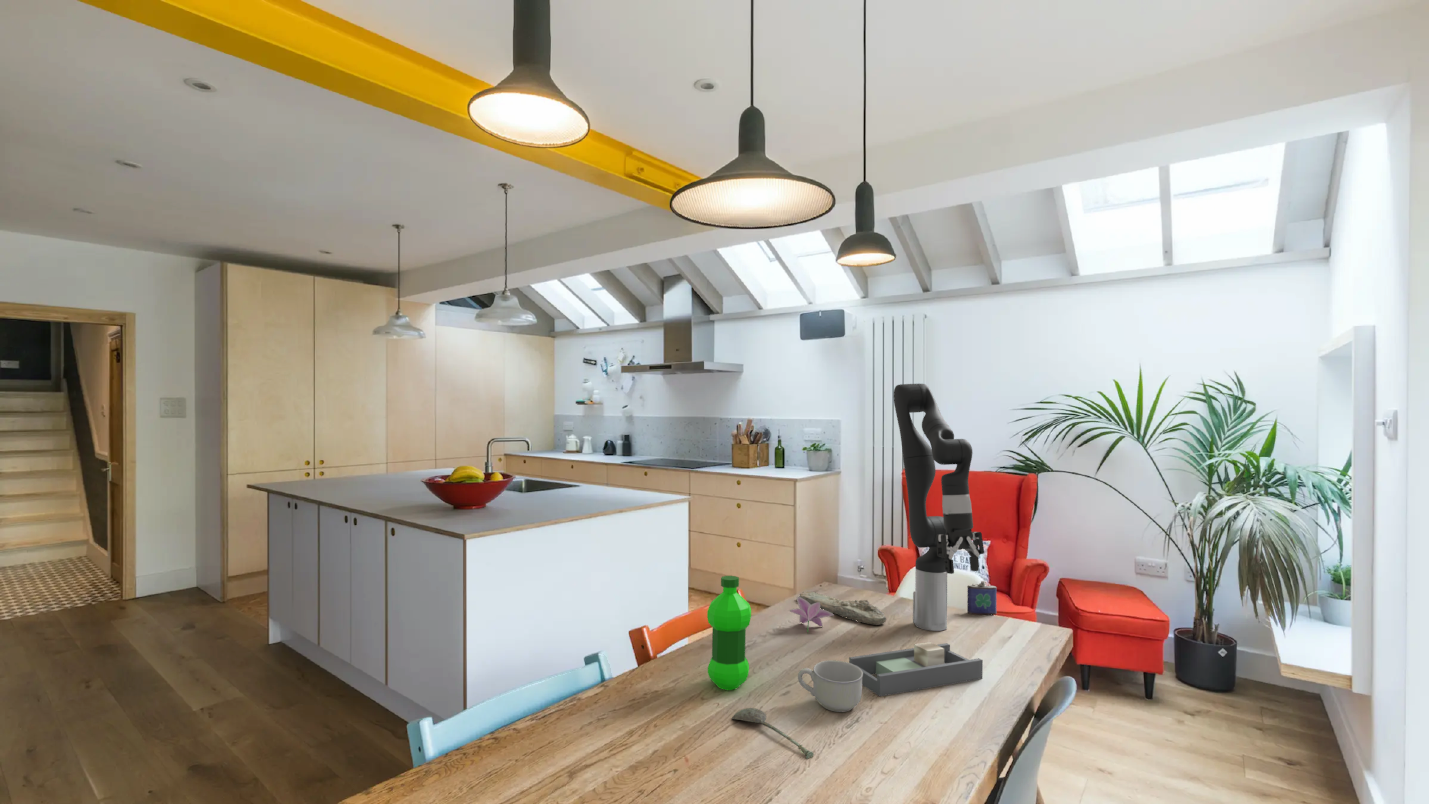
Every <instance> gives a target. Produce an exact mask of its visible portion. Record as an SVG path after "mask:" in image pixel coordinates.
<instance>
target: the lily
mask: <svg viewBox="0 0 1429 804" xmlns="http://www.w3.org/2000/svg"><path fill="white" fill-rule="evenodd" d="M796 601H797V604H798V608H793V609H789V610H788V611H789V612H790V613H793V614H796V615H798V616H799V623H800V622H802V623H803V624H805V623H807V626H806V629H807V631H806V632H808V633H809V625H810V622H812V623H814V624H815V625H817V626H819V627H820V626H822V627H823V622H822V620H821V619H823V618H828V617H833V616H834V615H835V614H833V613H831V612H829V611H826V610H823V609H820V602H817V603H814V604H812V605H811V604H810V603H809V602H807V601H806V600H804V599H803V598H801V597H799V596H797V597H796Z"/></svg>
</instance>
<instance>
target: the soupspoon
mask: <svg viewBox="0 0 1429 804" xmlns="http://www.w3.org/2000/svg"><path fill="white" fill-rule="evenodd" d="M731 719H732V720H740V721H745V722H752V723H757V724H761V725H762V726H765V727H767V728H769V729H771V730H772V731H774V732H775V733H777V734H779V735H780V736H782V737H783V738H785V739H787V740H788V741H790V742H791V743H792V744H793V745H795V746H796V747H798V748H797V749H798V750H800V751H801V752H802V754H804V756H805V759H810V758H812V757H814V752H813V751H812V750H808V749H807V748H806V747H804V746H803V744H800V743H799V742H797V740H795V739H794V738H792V737H791V736H789V735H788V734H786V733H784V732H783V731H782V730H780V729H778V727H776V726H774V725H772V724H770V723H769V722H766V720H767V714H766V713H765V712H764V711H763V710H761V709H759V708H755V707H749V708H748V707H747V708H743V709H741V710H738V711H737V712H736V713H735V714H733V715H732V717H731Z"/></svg>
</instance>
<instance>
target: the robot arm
mask: <svg viewBox="0 0 1429 804" xmlns="http://www.w3.org/2000/svg"><path fill="white" fill-rule="evenodd" d="M893 403H894V410H895V414H896V419H897V424H898V428H899V434H900V441H901V450H902V461H903V470H904V475H905V476H904V477H905V482H906V489H907V490H906V491H907V498H908V500H907V501H908V519H909V520H908V521H909V523H908V524H909V525H908V526H909V533H910V538H911V541H912V542H913V545H914V546H916V547H918V548H922V549H924V548H928V550H927V551H926V552H925V553H924V554H922V555H920V556H919V557H917V558H916V559H915V583H914V584H915V585H914V586H915V587H914V589H915V590H914V591H913V593H912V623H913V624H914V625H915V626H916V627H917V628H919V629H921V630H926V631H931V632H939V631H941V632H943V631H945V630H946V629H947V627H948V626H947V625H948V574H949V575H950V574H951V575H952V574H954V573H955V566H954V559H953V557H954V555H955V553H958V551H959V550H965V551H966V552H967V553H968V555H969V564H970V565H969V568H970V571H972V572H978V571H979V569H980V561H979V557H980V555H984V554H985V547H984V542H983V535H982V532H981V531H972V529H973V528H974V519H973V510H972V501H971V498H970V488H969V487H970V486H969V475H970V470H971V469H970V468H971V463H972V459H973V447H972V445H971V443H970V442H969V440H967V439H965V438H955V434H954V431H953V429H952V428H951V427H950V425H949V424H948V423H947V421H946V420H945V419H944V417H943V415H942V413H941V412H940V411H941V410H940V408H939V406H938V404H937V401H936V399H935V397H934V395H933V392H932V391H931V389H930V387H929V386H928V385H927V384H925V383H901V384H897V385H896V386H894V389H893ZM922 412H923V413H925V414H924V416H923V418H922V421H921V429H922V432H923V434H924V436H925V437H926V439H927V440H928V441H926V440H925V438H924V437H923V436H922V435H921V433H920V432H919V431H918V430H917V428H916V427H915V425H914V422H913V421H912V420H913V419H912V418H911V414H912V413H922ZM910 413H911V414H910ZM928 442H929V443H930V444H929V443H928ZM936 463H937V464H939V465H943V466H945V465H948V466H949V465H956V467H955V470H954V471H953V472H949V473H945V474H943V475H942V476H941V479H940V481H941V494H942V500H941V503H942V504H941V506H942V516H939V515H932V516H928V513H927V498H928V494H929V492H930V489H931V488H932V487H931V486H932V485H933V482H934V480H935V477H936V471H937V470H936Z"/></svg>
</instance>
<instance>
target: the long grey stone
mask: <svg viewBox="0 0 1429 804" xmlns="http://www.w3.org/2000/svg"><path fill="white" fill-rule="evenodd" d="M804 592H806V593H805V594H803V593H804ZM799 595H800V596H799ZM799 595H798V597H801V598H803V599H804V600H806V601H807V602H809V603H810V604H811V605H812V604H814V603H817V602H820V608H821V609H824V610H826V611H829V612H831V613H835V614H834V615H836V614H838V615H837V616H840V617H841V616H842V617H841V618H843V617H847V618H849V619H848V620H851V619H853V620H852V621H854V620H857V621H858V622H857V623H859V622H862V623H863V624H867V625H877V626H879V625H883V624H885V623H886V622H887V621H886V620H887V617H886V615H885V613H884V612H883V611H882V610H881V609H880V608H878V607H877V606H874V605H872V604H871V603H870V601H869V600H868V599H860V600H857V599H855V600H842V599H838V598H835V597H831V596H829V595H824V594H822V593H818V592H816V591H803V592H801V593H800V594H799Z"/></svg>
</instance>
